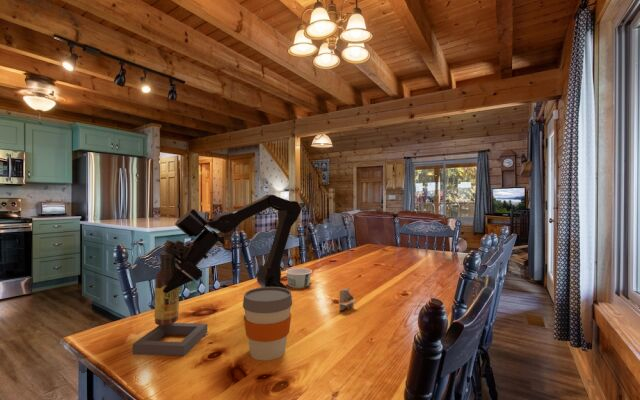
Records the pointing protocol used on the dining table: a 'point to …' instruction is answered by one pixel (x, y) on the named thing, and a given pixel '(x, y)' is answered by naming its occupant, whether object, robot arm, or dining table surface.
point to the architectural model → (346, 299)
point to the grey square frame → (155, 347)
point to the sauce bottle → (166, 301)
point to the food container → (298, 277)
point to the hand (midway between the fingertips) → (161, 289)
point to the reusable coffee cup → (267, 321)
